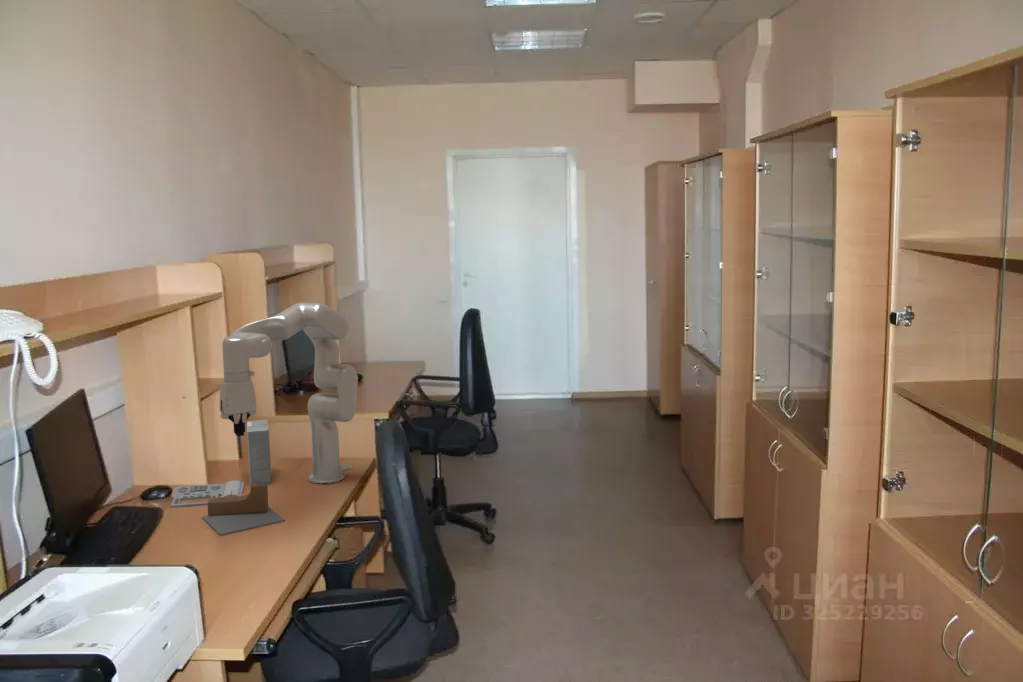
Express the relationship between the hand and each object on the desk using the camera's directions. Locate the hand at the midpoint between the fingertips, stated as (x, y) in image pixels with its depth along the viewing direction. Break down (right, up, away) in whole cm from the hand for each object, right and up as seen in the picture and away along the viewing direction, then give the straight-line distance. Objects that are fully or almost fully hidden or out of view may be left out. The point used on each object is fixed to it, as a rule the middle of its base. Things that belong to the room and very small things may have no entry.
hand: (239, 435), depth 252 cm
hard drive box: (-7, -21, +45) cm, 50 cm away
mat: (0, -27, +4) cm, 27 cm away
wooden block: (+6, -21, +10) cm, 24 cm away
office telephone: (-20, -24, +27) cm, 41 cm away
